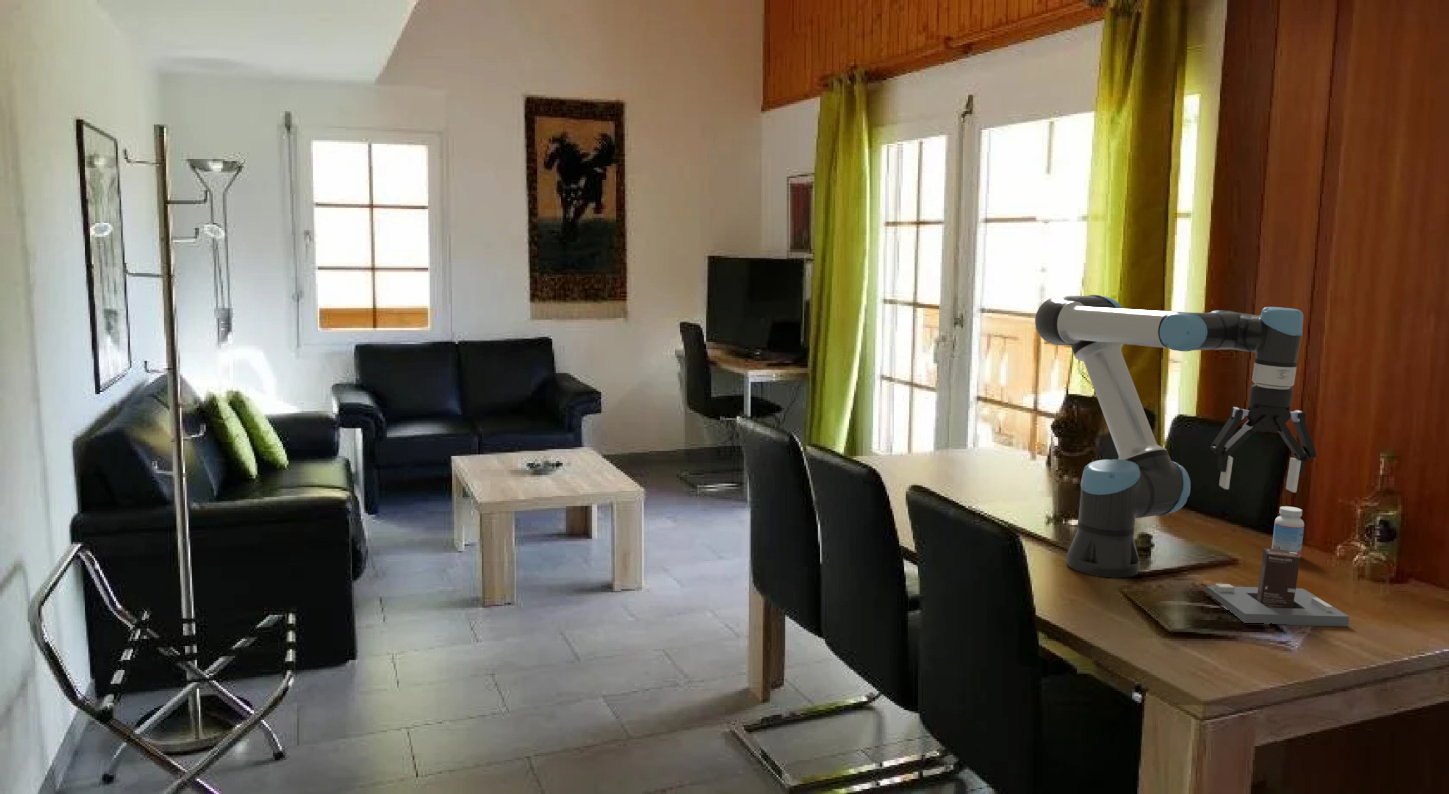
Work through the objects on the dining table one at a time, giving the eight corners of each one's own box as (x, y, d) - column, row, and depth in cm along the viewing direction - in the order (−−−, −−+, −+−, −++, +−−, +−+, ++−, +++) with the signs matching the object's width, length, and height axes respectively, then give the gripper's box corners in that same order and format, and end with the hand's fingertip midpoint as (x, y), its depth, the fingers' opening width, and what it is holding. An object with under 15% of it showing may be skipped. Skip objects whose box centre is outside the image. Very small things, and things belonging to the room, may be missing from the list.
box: (1259, 612, 208) (1266, 553, 207) (1255, 604, 213) (1262, 546, 211) (1293, 616, 207) (1301, 556, 205) (1288, 608, 211) (1295, 550, 209)
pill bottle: (1304, 560, 244) (1309, 513, 242) (1275, 558, 245) (1281, 510, 244) (1295, 552, 250) (1301, 506, 248) (1267, 550, 251) (1273, 504, 250)
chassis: (1244, 623, 202) (1245, 608, 201) (1205, 595, 217) (1206, 581, 217) (1348, 626, 202) (1350, 611, 202) (1301, 597, 218) (1303, 583, 217)
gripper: (1218, 385, 207) (1203, 491, 211) (1345, 392, 207) (1329, 497, 211) (1201, 379, 214) (1188, 481, 218) (1324, 385, 214) (1309, 487, 218)
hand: (1257, 489), depth 215 cm, fingers open, 13 cm apart
